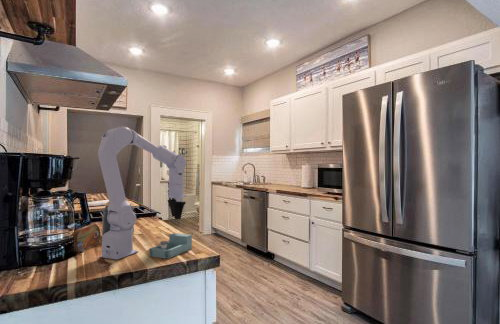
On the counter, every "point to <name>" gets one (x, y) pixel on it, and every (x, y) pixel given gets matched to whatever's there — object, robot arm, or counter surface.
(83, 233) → the tin
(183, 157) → the robot arm
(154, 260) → the counter surface
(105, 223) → the canister
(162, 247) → the peg
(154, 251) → the link
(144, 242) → the counter surface
